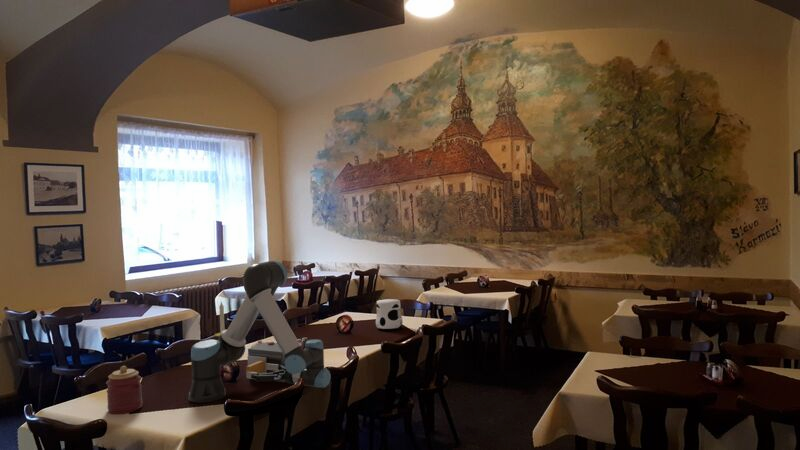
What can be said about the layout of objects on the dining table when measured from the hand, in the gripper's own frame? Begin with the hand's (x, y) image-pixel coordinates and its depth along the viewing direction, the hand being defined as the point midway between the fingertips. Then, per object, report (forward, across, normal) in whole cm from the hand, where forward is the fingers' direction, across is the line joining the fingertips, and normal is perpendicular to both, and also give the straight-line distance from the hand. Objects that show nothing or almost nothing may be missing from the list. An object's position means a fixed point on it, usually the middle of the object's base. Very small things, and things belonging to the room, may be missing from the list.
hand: (257, 370), depth 255 cm
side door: (+8, +4, -6) cm, 10 cm away
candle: (+45, +28, -8) cm, 54 cm away
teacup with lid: (+26, +36, -8) cm, 45 cm away
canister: (+35, -40, -8) cm, 54 cm away
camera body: (+4, +18, -8) cm, 20 cm away
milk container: (-2, +128, -8) cm, 128 cm away
